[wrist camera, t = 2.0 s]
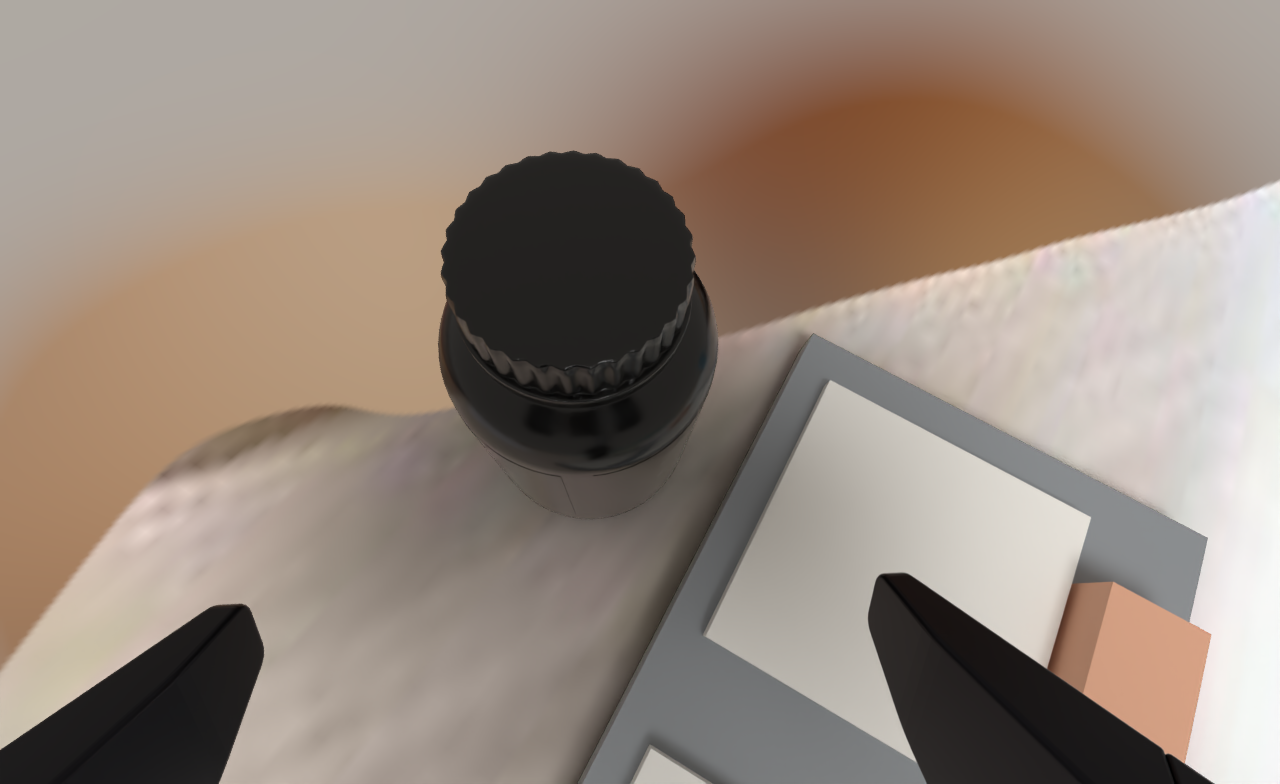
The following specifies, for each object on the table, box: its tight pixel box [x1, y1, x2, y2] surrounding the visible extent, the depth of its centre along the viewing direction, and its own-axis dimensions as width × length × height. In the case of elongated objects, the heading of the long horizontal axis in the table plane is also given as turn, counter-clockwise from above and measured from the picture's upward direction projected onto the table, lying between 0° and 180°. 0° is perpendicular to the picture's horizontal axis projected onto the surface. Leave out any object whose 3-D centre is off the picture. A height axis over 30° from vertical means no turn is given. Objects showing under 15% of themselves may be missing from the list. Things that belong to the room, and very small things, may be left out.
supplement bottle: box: [438, 151, 718, 519], centre depth 17 cm, size 7×7×12 cm
